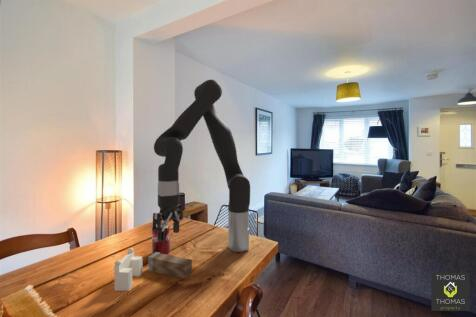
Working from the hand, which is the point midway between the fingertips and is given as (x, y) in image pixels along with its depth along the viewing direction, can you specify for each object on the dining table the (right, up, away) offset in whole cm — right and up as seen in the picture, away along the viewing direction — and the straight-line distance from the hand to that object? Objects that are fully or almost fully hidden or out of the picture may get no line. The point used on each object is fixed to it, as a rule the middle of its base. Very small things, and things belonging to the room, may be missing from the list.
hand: (169, 236), depth 84 cm
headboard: (-12, -13, -5) cm, 19 cm away
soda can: (-8, -12, +15) cm, 21 cm away
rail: (0, -13, +1) cm, 13 cm away
